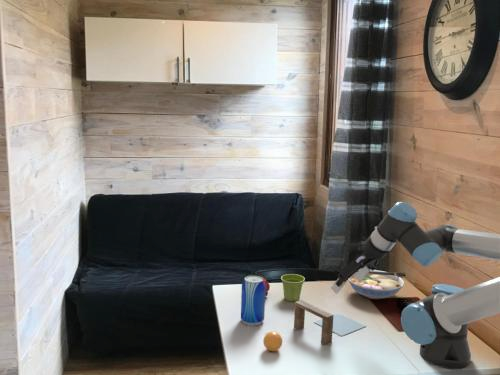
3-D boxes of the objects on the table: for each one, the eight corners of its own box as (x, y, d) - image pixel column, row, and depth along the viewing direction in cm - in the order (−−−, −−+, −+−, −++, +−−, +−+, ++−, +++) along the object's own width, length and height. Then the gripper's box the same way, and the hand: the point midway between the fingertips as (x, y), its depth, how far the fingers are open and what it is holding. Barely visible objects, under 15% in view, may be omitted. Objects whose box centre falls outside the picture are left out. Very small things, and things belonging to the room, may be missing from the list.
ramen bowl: (342, 303, 205) (344, 283, 203) (343, 283, 227) (344, 265, 226) (408, 310, 201) (410, 290, 199) (402, 288, 223) (404, 270, 221)
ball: (285, 351, 166) (286, 333, 165) (271, 356, 162) (272, 338, 161) (273, 343, 171) (274, 326, 170) (259, 349, 167) (259, 331, 166)
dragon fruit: (255, 306, 204) (257, 298, 216) (273, 294, 203) (274, 287, 215) (243, 287, 204) (245, 281, 216) (261, 276, 203) (263, 270, 215)
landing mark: (366, 326, 185) (366, 326, 185) (341, 336, 177) (341, 335, 177) (338, 313, 195) (338, 313, 195) (313, 322, 187) (313, 322, 187)
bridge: (299, 325, 184) (301, 299, 183) (331, 342, 173) (333, 315, 171) (293, 328, 182) (295, 301, 181) (325, 345, 171) (327, 317, 169)
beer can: (259, 328, 181) (261, 284, 179) (237, 324, 184) (238, 281, 181) (267, 318, 189) (268, 276, 186) (245, 314, 192) (246, 273, 189)
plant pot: (302, 304, 203) (303, 283, 201) (278, 302, 205) (279, 280, 203) (304, 295, 212) (305, 275, 210) (281, 293, 214) (282, 272, 212)
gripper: (391, 226, 174) (359, 267, 186) (349, 243, 157) (316, 286, 169) (408, 242, 171) (373, 283, 183) (366, 261, 154) (331, 304, 166)
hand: (345, 285), depth 176 cm, fingers open, 13 cm apart
